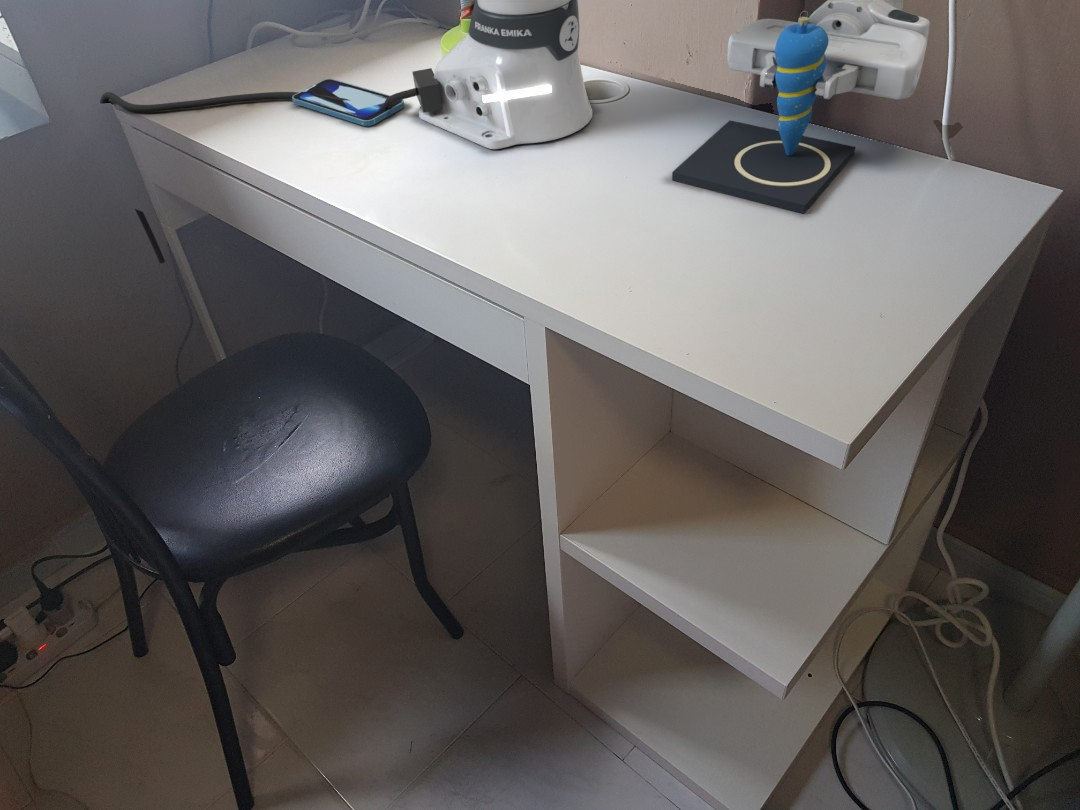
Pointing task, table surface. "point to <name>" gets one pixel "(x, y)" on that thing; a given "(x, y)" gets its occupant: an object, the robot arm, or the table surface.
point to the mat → (764, 166)
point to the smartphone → (346, 102)
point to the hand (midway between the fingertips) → (794, 85)
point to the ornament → (798, 78)
